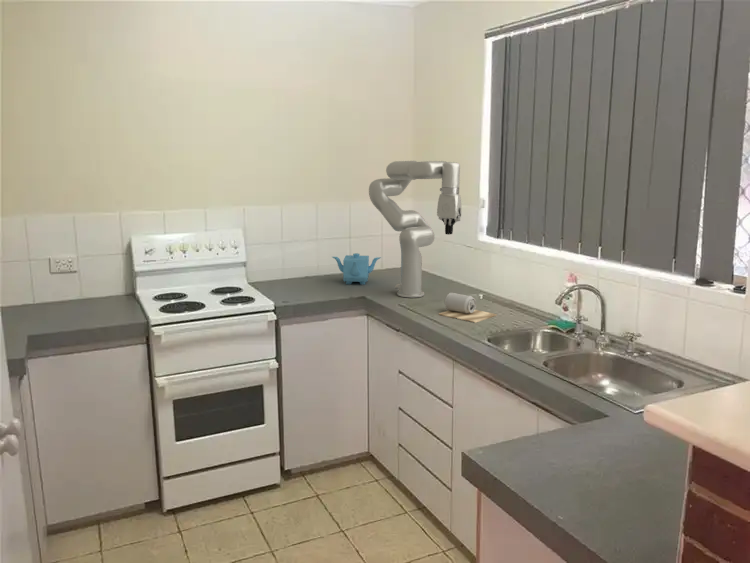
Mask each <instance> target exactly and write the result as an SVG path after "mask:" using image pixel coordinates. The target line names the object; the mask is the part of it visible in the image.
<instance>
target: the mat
mask: <svg viewBox="0 0 750 563" xmlns="http://www.w3.org/2000/svg"><path fill="white" fill-rule="evenodd" d="M438 316H443V317H447V318H452V319H455V318H457V320H460V319H461V320H460V321H464V320H465V322H469V321H470V322H469V323H473V322H474V324H475V323H476V324H477V323H478V322H483V321H485V320H487V319H491V318H494V317H497V316H498V314H497V313H493V312H488V311H483V310H478V309H475V310H474V312H473V313H469V314H466V313H461V312H456V311H451V310H446V311H442V312H439V313H438Z"/></svg>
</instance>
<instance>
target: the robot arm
mask: <svg viewBox="0 0 750 563" xmlns="http://www.w3.org/2000/svg"><path fill="white" fill-rule="evenodd" d="M385 173H386V175H387V176H388V178H386V177H385V178H377V179H374V180H373V181H371V182H370V184H369V186H368V196H369V199H370V202H371V203H372V205H373V206H374V207H375V209H377V210H378V211H379V212H380V213H381V215H382V216H383V217H384V219H385V220H386V221H387V223H388V224H389V225H390V227H391V228H392V229H393V230H394V231H396V232H400V233H399V239H398V240H399V245H400V283H396V284H395V286H394V288H395V289H398V291H397V293H396V295H397V296H398V297H401V298H408V299H409V298H412V299H413V298H415V299H416V298H421V297H424V296H425V292H424V291H423V290H422V276H423V275H422V274H423V273H422V269H423V268H422V264H423V263H422V262H423V256H422V253H421V251H420V249H419V248H423V247H428V246H430V245H432V244H433V242H434V241H435V232H434V230H433V229H432V227H431V226H430V224H428V221H426V219H425V218H424V217H423V216H422V214H420V213H419V212H418V211H416V210H412V209H407V210H406V209H405V210H404V209H402V208H401V207H400V206H399V205H398V204H397V203H396V201H394V199H392V198H390V197H397V196H400V195H401V194H402V193H404V191H405V190H406V189H407V187H408V186H409V185H410V183H411V182H412V181H415V180H435V179H437V180H439V179H441V188H439V192H441V194H439V197H438V201H437V208H436V216H437V217H438V220H440V221H442V222H443V225H444V232H445V233H444V234H445V235H453V232H454V225H455V223H457V222H461V218H462V199H461V195H460V183H461V182H460V181H461V180H460V179H461V177H460V175H461V164H460V163H459V162H455V161H453V162H451V161H444V160H441V161H440V160H429V161H427V160H426V161H425V160H423V161H417V160H398V161H396V160H395V161H392V162H390V163H389V164H388V165H387V166H386V170H385Z"/></svg>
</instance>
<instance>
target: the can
mask: <svg viewBox="0 0 750 563" xmlns="http://www.w3.org/2000/svg"><path fill="white" fill-rule="evenodd" d="M444 307H445V309H446V311H449V310H451V311H456V312H461V313H466V314H469V313H473V312H474V310H476V308H477V301H476V298H474V297H473V296H472V295H467V294H462V293H461V294H459V293H455V292H449V293H447V295H446V296H445V298H444Z"/></svg>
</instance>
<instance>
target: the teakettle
mask: <svg viewBox="0 0 750 563" xmlns="http://www.w3.org/2000/svg"><path fill="white" fill-rule="evenodd" d="M332 258H333V259H334V260H335V261H336V263H337V266H338V269H339V270H340V272H341V273H343V274H342V275H343V277H342V278H343V282H345V285H352V283H353V282H358V283H359V285H361V286H362V285H364V286H365V285H366V284H367V283H368V281H369V274H371V273H372V272H373V271H374V269H375V266H376V263H377V261H378V260H380V259H382V257H377V256H376V257H374V258H373V259H372V262H371V264H370V256H369V255H360V253H358V252H357V253H353V254H352V255H350V254H349V255H348V254H346V255H345V256H344V258H343V262H341V259H340V258H339V257H338V256H332ZM342 263H343V264H342Z"/></svg>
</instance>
